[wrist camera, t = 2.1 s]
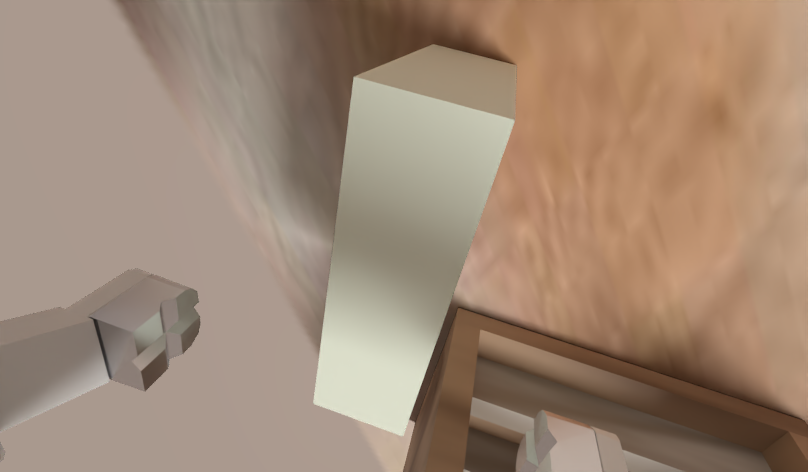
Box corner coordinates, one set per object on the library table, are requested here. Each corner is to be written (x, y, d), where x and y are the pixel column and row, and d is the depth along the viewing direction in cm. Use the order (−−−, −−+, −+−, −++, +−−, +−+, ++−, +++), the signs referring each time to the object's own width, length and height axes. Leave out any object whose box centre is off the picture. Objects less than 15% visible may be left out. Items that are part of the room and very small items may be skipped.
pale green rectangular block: (433, 43, 14) (353, 76, 7) (516, 64, 14) (515, 120, 7) (385, 265, 19) (313, 403, 12) (444, 284, 19) (403, 436, 12)
